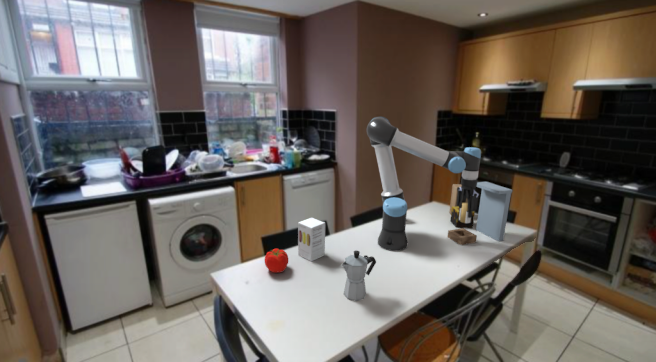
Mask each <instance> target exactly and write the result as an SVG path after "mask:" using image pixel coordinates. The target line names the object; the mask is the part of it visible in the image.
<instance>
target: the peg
mask: <svg viewBox="0 0 656 362" xmlns="http://www.w3.org/2000/svg"><path fill="white" fill-rule="evenodd" d="M466 211H468V203H467V202H463V203H462V210H461V218H460V222H462V223H465V219H466Z"/></svg>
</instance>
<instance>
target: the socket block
mask: <svg viewBox="0 0 656 362" xmlns="http://www.w3.org/2000/svg"><path fill="white" fill-rule="evenodd" d="M477 237H478V236H477V234H475V233H473V232H471V231H470V230H468V229H466V228H455V229H449V230H448V231H447V238H448V239H450V240H451V241H453V242H454V243H457V244H458V245H459V246H463V245H469V244H470V245H471V244H476V243H477Z"/></svg>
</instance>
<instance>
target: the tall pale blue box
mask: <svg viewBox="0 0 656 362" xmlns="http://www.w3.org/2000/svg"><path fill="white" fill-rule="evenodd" d="M476 187H477V188H479V189H481V192H480V193H481V194H480V199H479V207H478V212H477V213H478V214H477V220H476V226H475V230H476V231H477V232H479V233H481V234H483V235H485V236H487V237H489V238H491V239H493V240H495V241H497V242H498V243H499V242H504V239H505V233H506V232H505V231H506V226H507V225H506V224H507V219H508V213H509V208H510V202H511V196H512V193H513V189H511V188H508V187H504V186H501V185H499V184H495V183H493V182H489V181H477V186H476ZM476 187H475V188H476Z"/></svg>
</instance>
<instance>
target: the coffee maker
mask: <svg viewBox="0 0 656 362" xmlns="http://www.w3.org/2000/svg"><path fill="white" fill-rule="evenodd" d="M360 253H361V252H360V251H359V250H354V251H353V254H350V255H348V256H346V257H344V261H343V263H341V265H340V266H341V267H342V268H343V269H344V271H345V273H346V281H345V287H344V291H343V295H344V297H345V298H346V299H347V300H350V301H353V302H358V301H361V300H364V299H365V298H366V296H367V289H366V281H365V277H366V275H367V276H370V274H371V273H372V271H373V269H374V267H375V265H376V263H377V260H376V258H375V257H374V256H373V255H372V256H368V255H363V256H362V255H360ZM369 264H370V265H369ZM368 265H369V266H368Z"/></svg>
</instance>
